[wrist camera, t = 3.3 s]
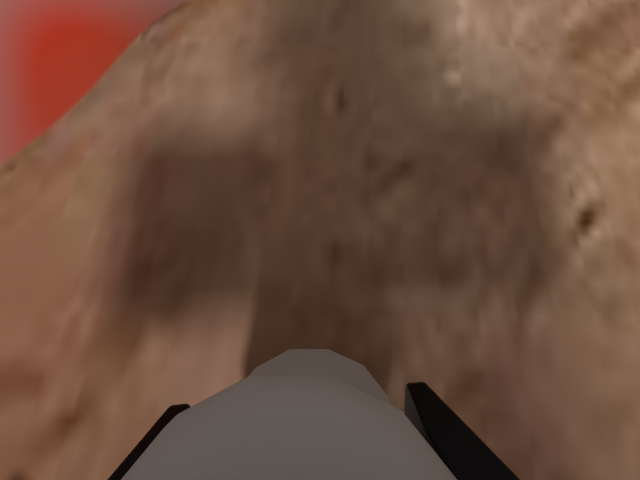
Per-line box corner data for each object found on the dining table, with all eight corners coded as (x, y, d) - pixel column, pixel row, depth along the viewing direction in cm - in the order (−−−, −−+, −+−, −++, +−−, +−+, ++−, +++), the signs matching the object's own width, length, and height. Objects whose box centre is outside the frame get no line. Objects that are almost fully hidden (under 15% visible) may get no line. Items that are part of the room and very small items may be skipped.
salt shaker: (257, 337, 17) (81, 240, 4) (397, 367, 16) (634, 355, 4) (217, 498, 15) (-262, 1088, 3) (372, 536, 15) (653, 1420, 2)
